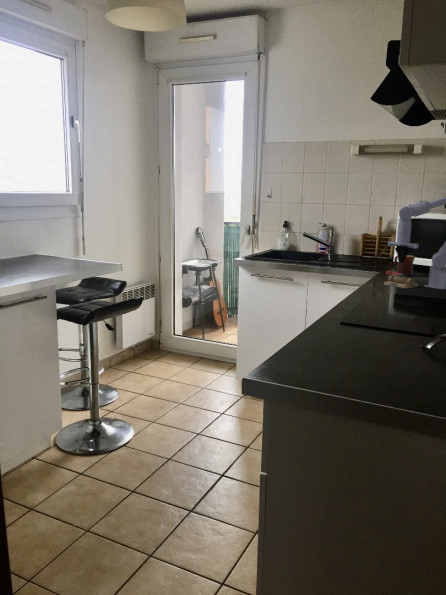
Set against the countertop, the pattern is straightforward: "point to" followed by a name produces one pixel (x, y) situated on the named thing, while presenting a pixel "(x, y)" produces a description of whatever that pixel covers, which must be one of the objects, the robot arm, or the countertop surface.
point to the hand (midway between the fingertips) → (401, 262)
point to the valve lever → (394, 273)
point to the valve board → (401, 282)
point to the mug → (405, 265)
